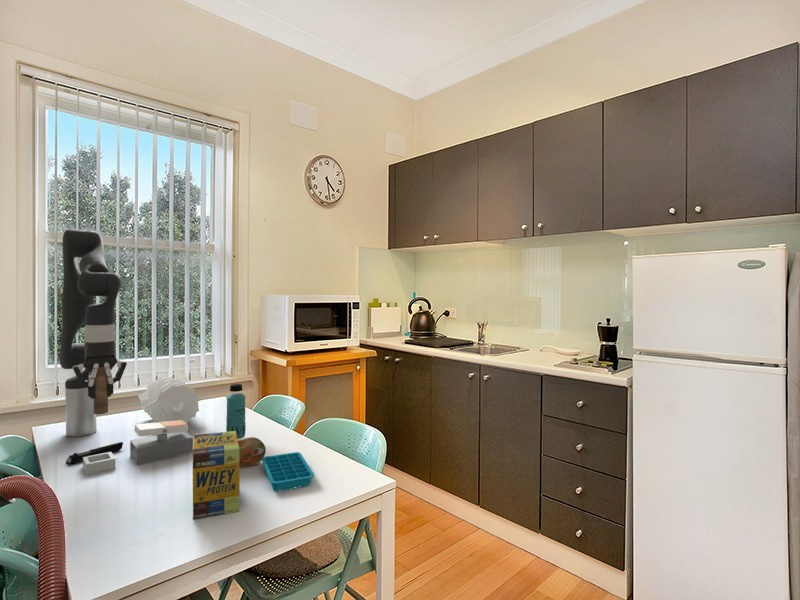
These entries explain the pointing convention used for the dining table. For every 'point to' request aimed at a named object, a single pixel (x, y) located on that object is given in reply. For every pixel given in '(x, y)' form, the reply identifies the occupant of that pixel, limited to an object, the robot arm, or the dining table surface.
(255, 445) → the tin
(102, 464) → the holder
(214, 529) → the dining table surface
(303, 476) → the ice cube tray
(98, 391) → the wooden peg
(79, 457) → the electric trimmer
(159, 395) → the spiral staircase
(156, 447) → the switch box
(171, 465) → the dining table surface
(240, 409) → the beverage bottle
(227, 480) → the protein box
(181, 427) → the rocker switch
